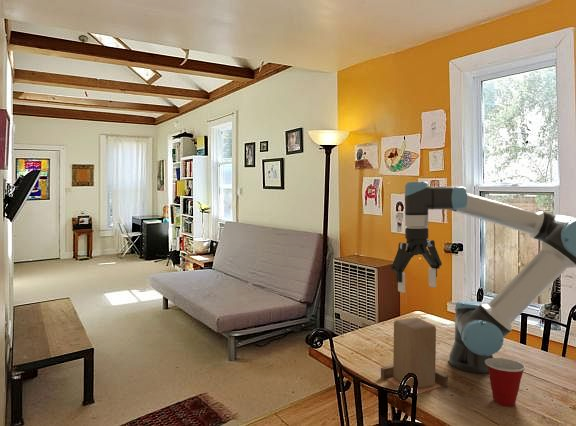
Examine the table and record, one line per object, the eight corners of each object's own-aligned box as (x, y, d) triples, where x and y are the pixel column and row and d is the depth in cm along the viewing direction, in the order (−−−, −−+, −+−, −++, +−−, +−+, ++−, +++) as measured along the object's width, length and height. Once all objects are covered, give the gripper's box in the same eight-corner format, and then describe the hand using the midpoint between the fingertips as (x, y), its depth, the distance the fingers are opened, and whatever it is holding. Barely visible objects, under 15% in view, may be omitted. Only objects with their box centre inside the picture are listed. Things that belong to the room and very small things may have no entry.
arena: (413, 368, 146) (413, 359, 146) (447, 386, 133) (447, 375, 133) (380, 377, 139) (380, 367, 139) (413, 397, 126) (413, 386, 126)
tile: (413, 372, 144) (413, 371, 144) (440, 386, 133) (440, 385, 133) (387, 379, 138) (387, 378, 138) (413, 395, 127) (413, 394, 127)
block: (436, 386, 132) (437, 325, 131) (410, 391, 129) (411, 329, 128) (416, 373, 142) (417, 316, 141) (392, 377, 139) (392, 319, 137)
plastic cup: (511, 392, 129) (512, 354, 129) (532, 410, 119) (533, 369, 118) (477, 392, 129) (478, 355, 128) (495, 411, 118) (496, 370, 117)
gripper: (436, 224, 148) (436, 282, 149) (379, 228, 137) (380, 291, 138) (452, 225, 141) (452, 286, 142) (394, 230, 131) (395, 296, 132)
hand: (417, 289), depth 140 cm, fingers open, 13 cm apart
